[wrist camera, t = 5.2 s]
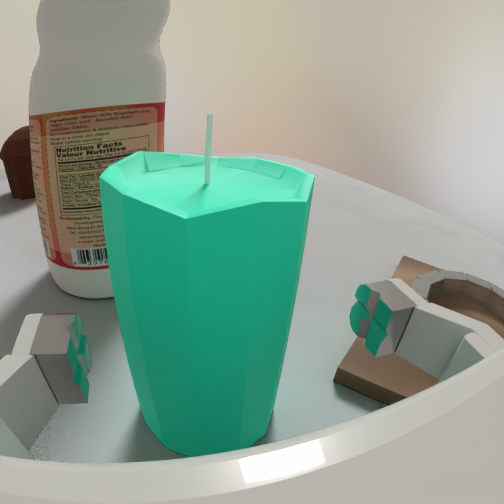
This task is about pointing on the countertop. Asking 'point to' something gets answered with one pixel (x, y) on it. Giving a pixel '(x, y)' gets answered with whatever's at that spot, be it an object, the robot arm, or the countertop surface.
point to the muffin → (19, 164)
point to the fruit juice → (91, 122)
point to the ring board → (393, 366)
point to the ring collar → (460, 289)
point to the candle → (205, 288)
